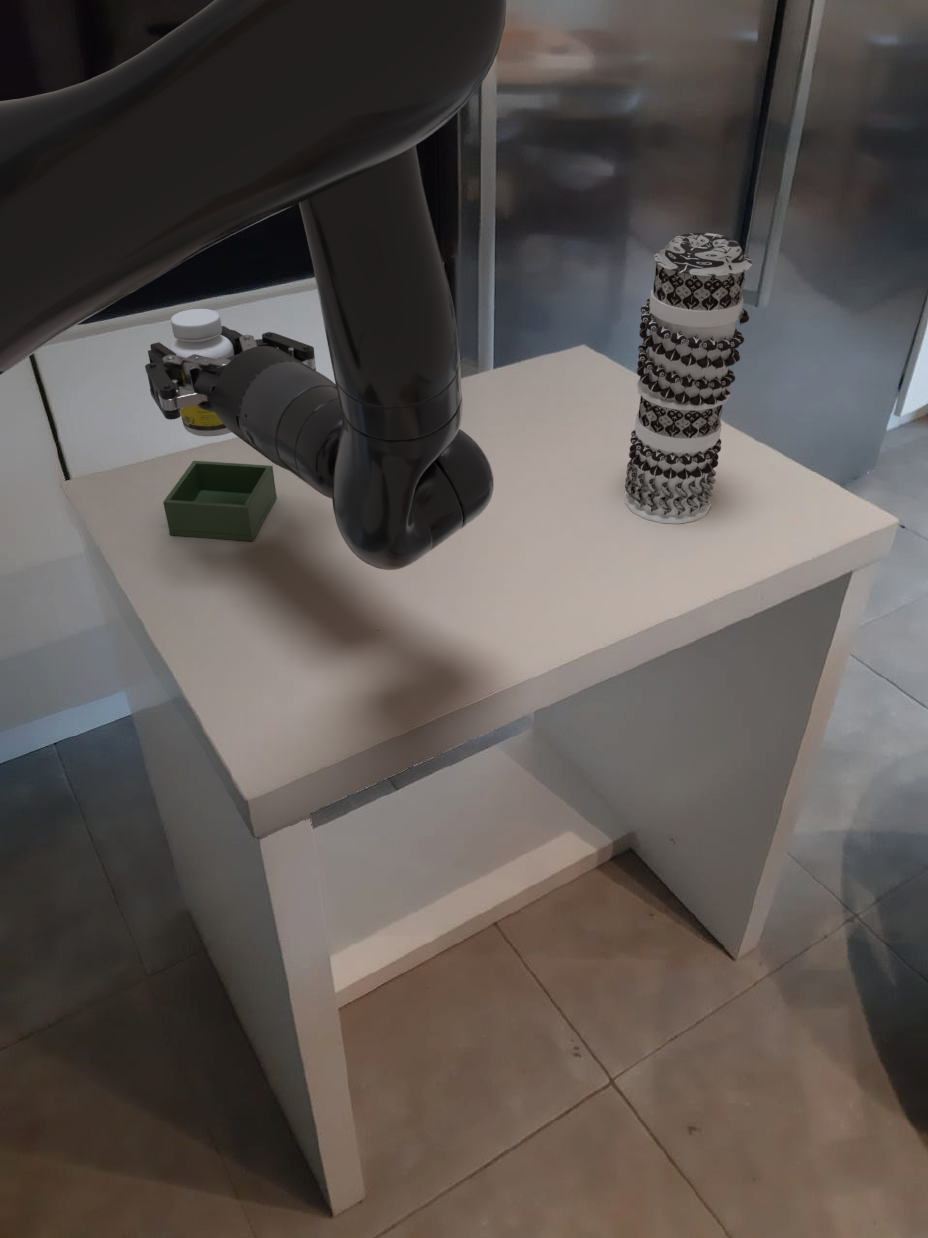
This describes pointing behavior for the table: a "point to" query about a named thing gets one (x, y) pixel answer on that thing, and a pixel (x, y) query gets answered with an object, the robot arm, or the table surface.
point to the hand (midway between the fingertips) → (188, 345)
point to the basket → (220, 500)
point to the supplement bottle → (201, 338)
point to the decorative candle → (685, 376)
